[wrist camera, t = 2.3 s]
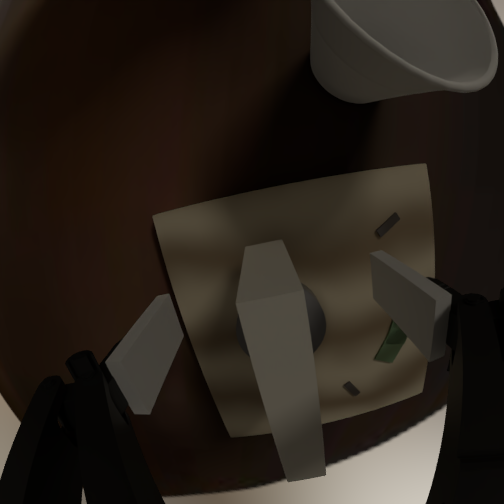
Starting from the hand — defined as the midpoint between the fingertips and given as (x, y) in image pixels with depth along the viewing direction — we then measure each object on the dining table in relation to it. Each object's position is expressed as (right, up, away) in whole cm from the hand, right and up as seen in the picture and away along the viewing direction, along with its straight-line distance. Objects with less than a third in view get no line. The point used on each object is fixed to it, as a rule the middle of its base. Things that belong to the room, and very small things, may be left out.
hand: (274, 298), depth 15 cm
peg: (+1, -4, +5) cm, 7 cm away
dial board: (+4, -3, +7) cm, 8 cm away
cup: (+6, +16, +2) cm, 17 cm away
